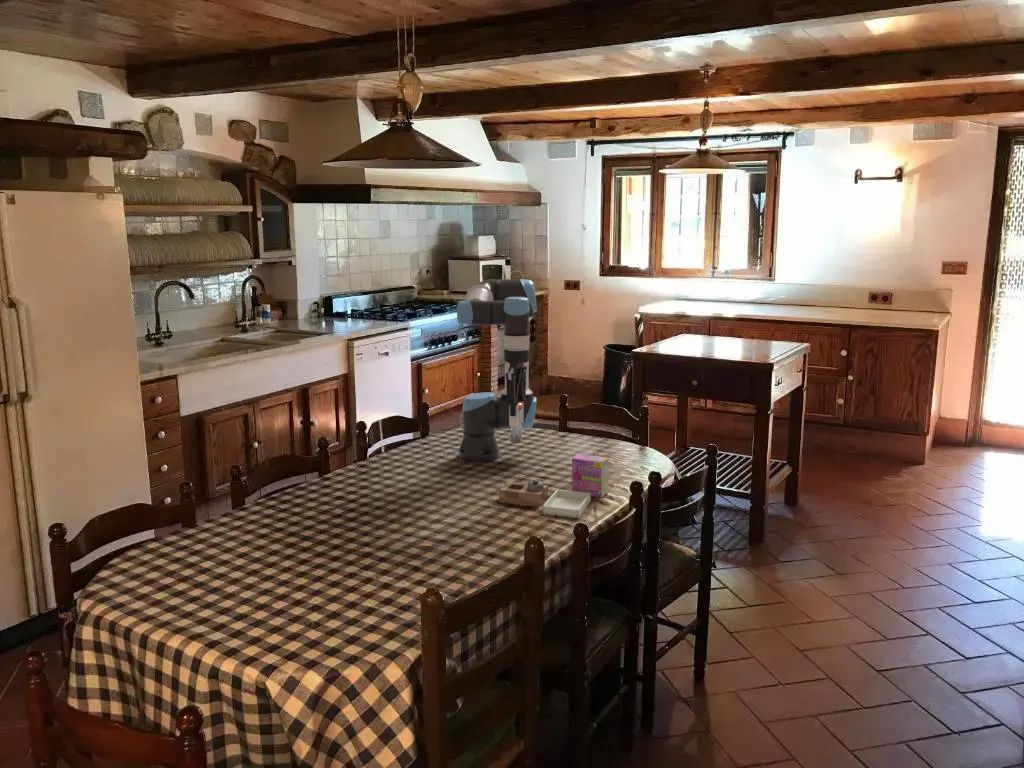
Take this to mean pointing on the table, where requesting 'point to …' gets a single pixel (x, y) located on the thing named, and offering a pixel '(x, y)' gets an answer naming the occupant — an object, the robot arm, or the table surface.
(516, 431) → the pin
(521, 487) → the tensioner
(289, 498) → the table surface
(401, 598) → the table surface
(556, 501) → the tray
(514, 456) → the table surface
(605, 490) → the box
